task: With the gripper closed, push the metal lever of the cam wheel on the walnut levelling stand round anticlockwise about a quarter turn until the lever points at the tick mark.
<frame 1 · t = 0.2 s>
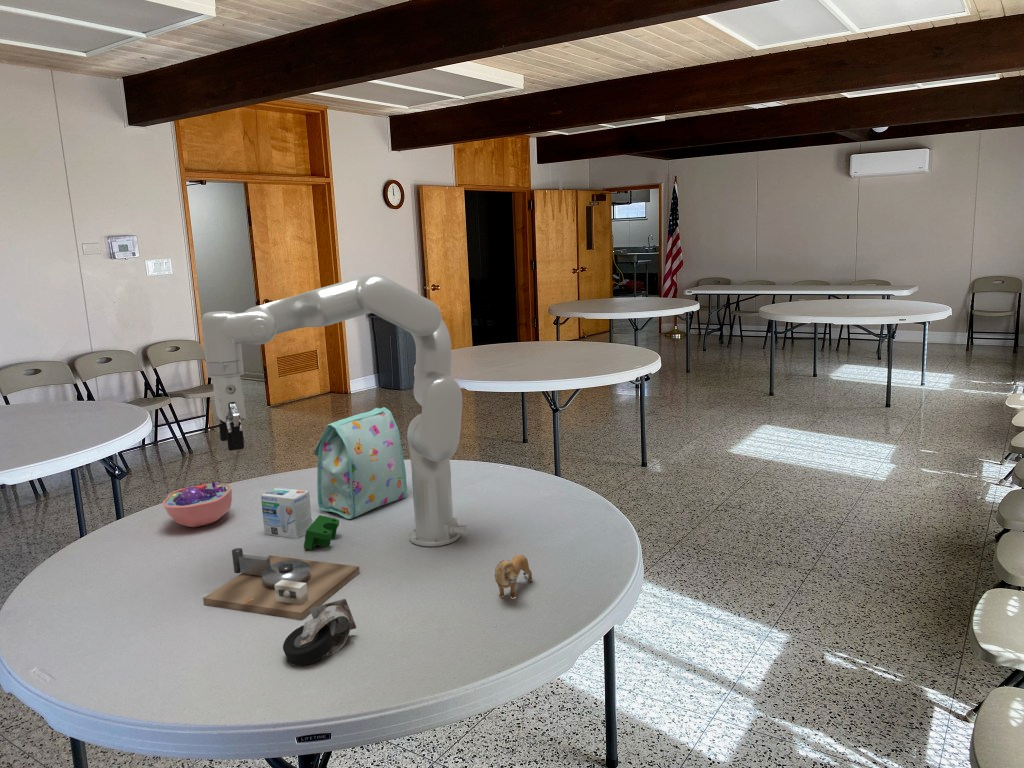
hand: (232, 444, 164), 30 cm above the table, tool pointing down, fingers open, 9 cm apart
caster wheel: (319, 652, 135), on the table
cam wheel: (269, 565, 162), point 4 cm above the table, hinge at 0.0°
clamp: (323, 543, 185), on the table
stand base: (284, 588, 161), on the table
cell model: (202, 523, 202), on the table
lion figurine: (515, 593, 155), on the table
light bulb box: (288, 532, 193), on the table
lunch bag: (364, 505, 211), on the table
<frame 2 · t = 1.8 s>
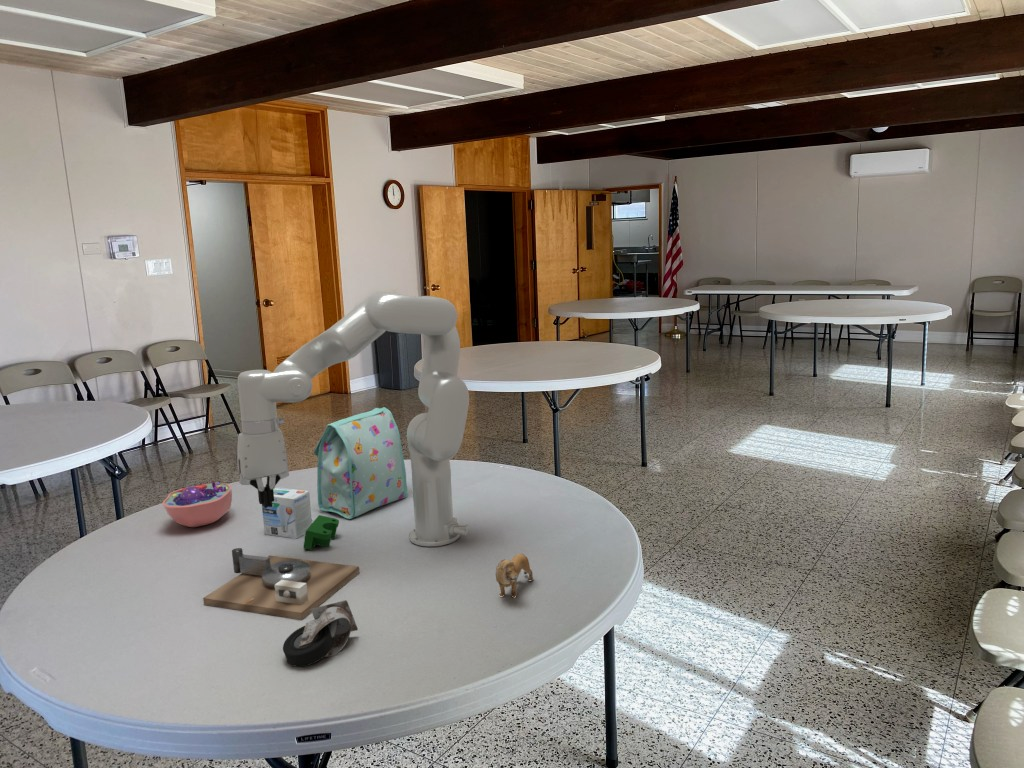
hand: (266, 505, 166), 16 cm above the table, tool pointing down, fingers closed
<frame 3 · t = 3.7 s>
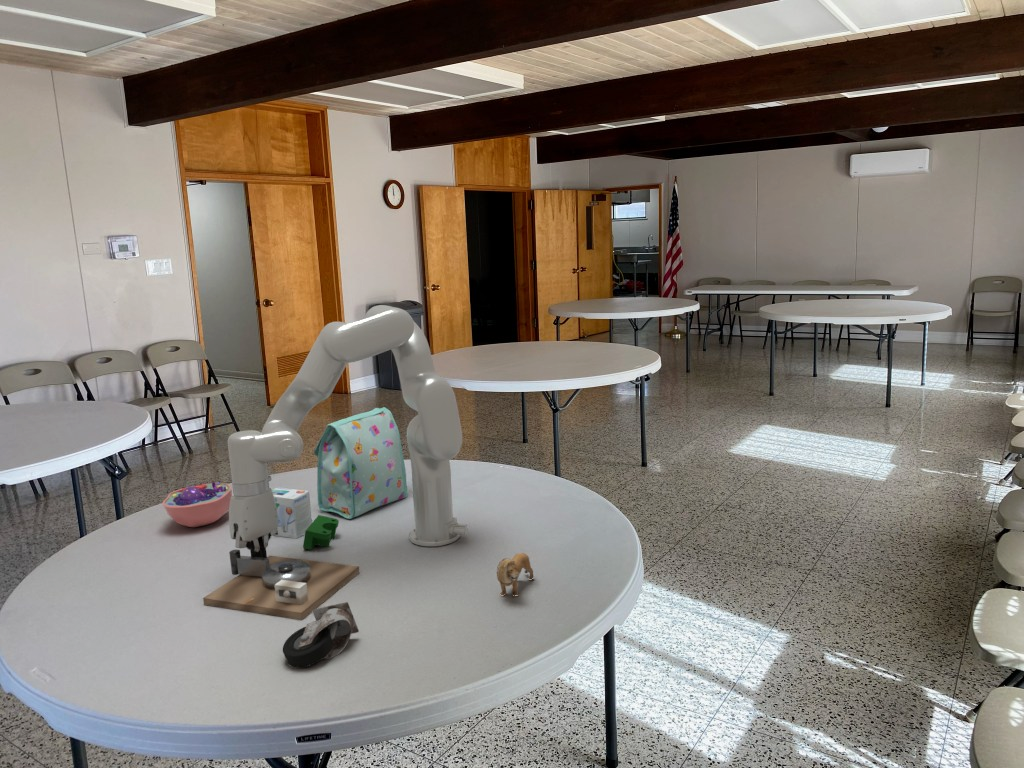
hand: (259, 565, 166), 3 cm above the table, tool pointing down, fingers closed
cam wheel: (268, 565, 162), point 4 cm above the table, hinge at 3.8°, touching gripper
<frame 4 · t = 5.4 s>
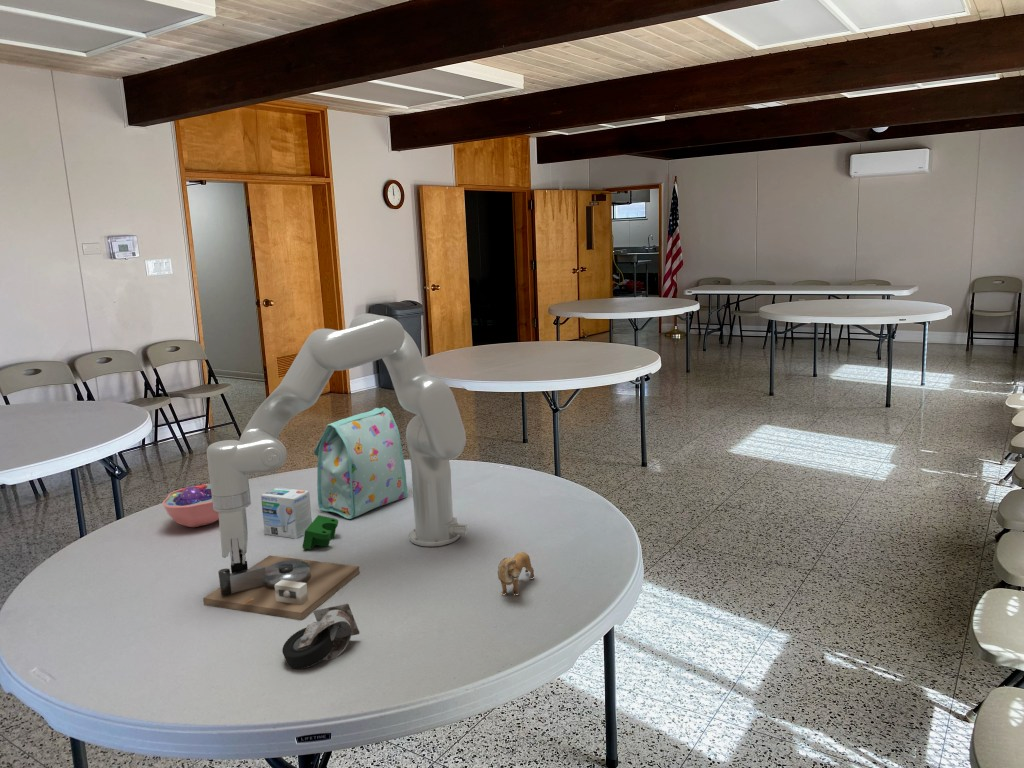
hand: (240, 580, 159), 3 cm above the table, tool pointing down, fingers closed
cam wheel: (265, 572, 159), point 4 cm above the table, hinge at 51.1°, touching gripper
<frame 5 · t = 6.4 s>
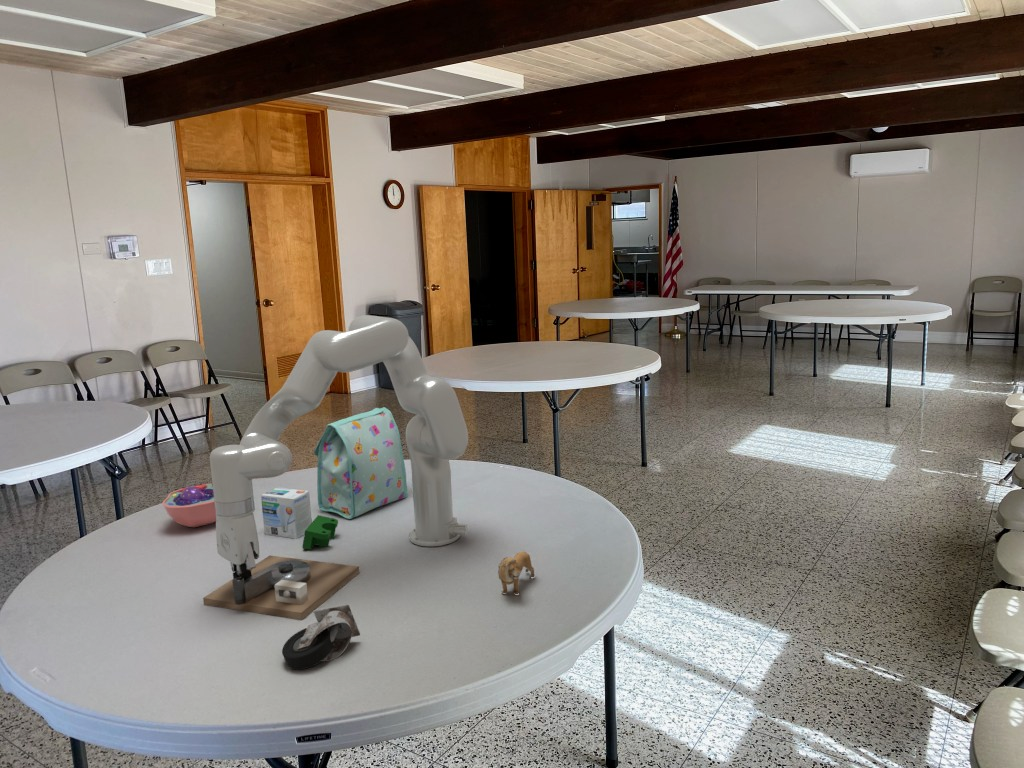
hand: (243, 589, 155), 3 cm above the table, tool pointing down, fingers closed
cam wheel: (270, 575, 157), point 4 cm above the table, hinge at 79.7°, touching gripper
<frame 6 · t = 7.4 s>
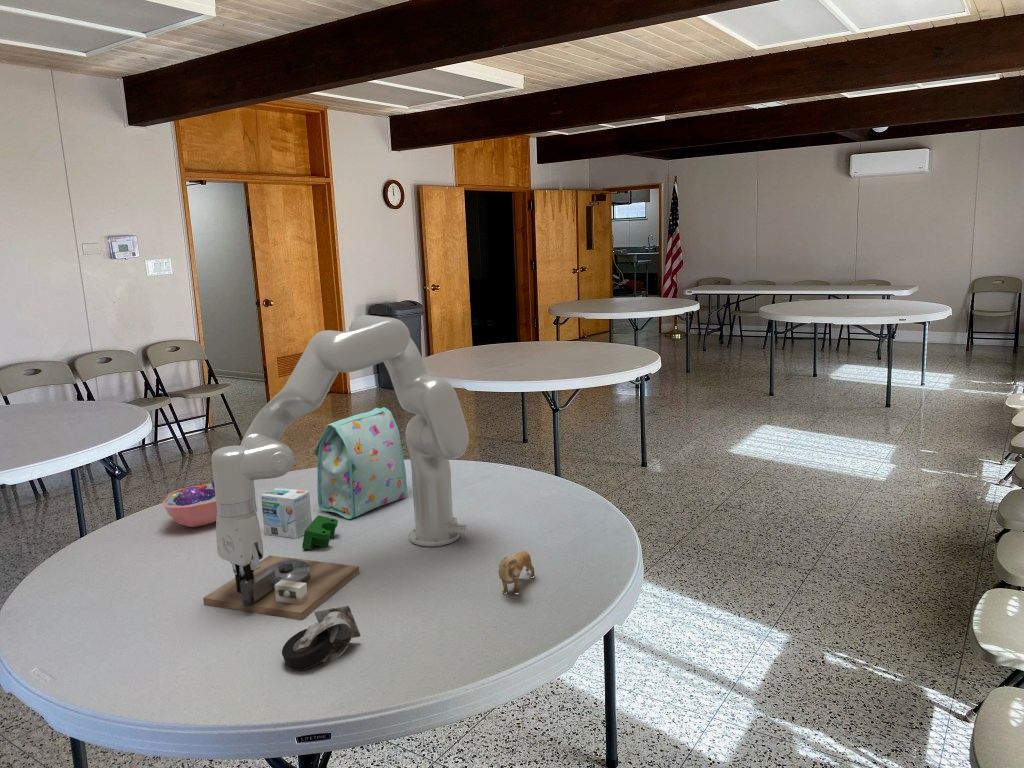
hand: (246, 590, 154), 3 cm above the table, tool pointing down, fingers closed
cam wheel: (273, 575, 157), point 4 cm above the table, hinge at 89.4°
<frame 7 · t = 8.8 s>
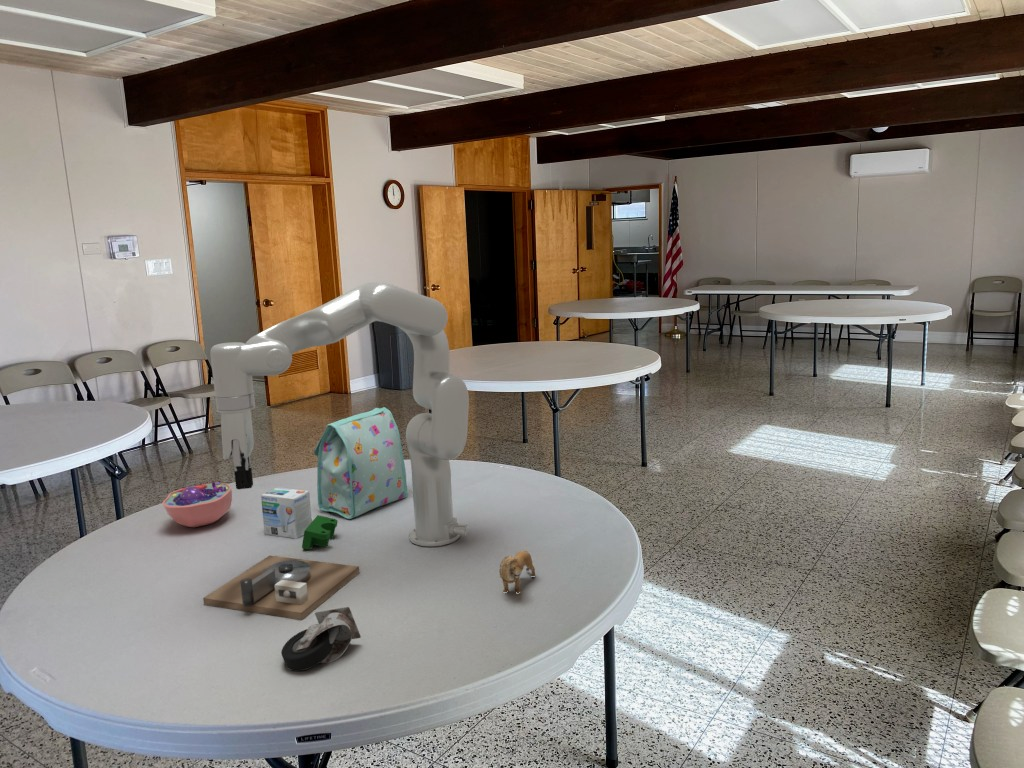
hand: (244, 487, 156), 23 cm above the table, tool pointing down, fingers closed
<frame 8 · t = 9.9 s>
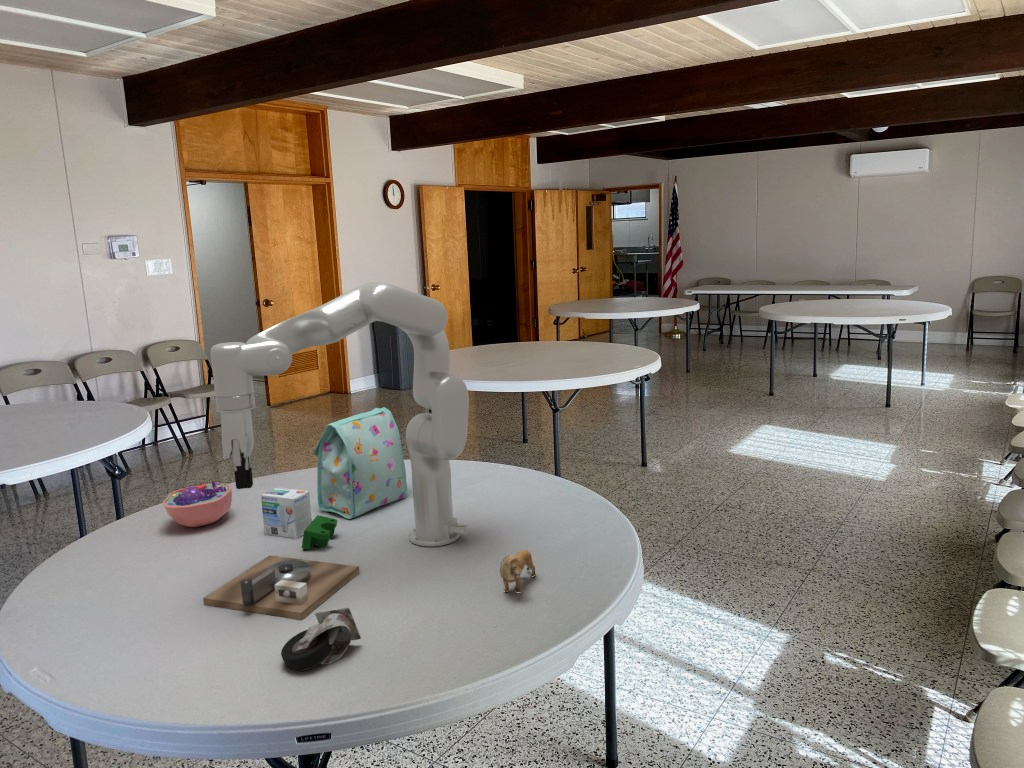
hand: (244, 487, 156), 23 cm above the table, tool pointing down, fingers closed
at the end: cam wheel at +89° (first picture: +0°); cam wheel touching nothing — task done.
